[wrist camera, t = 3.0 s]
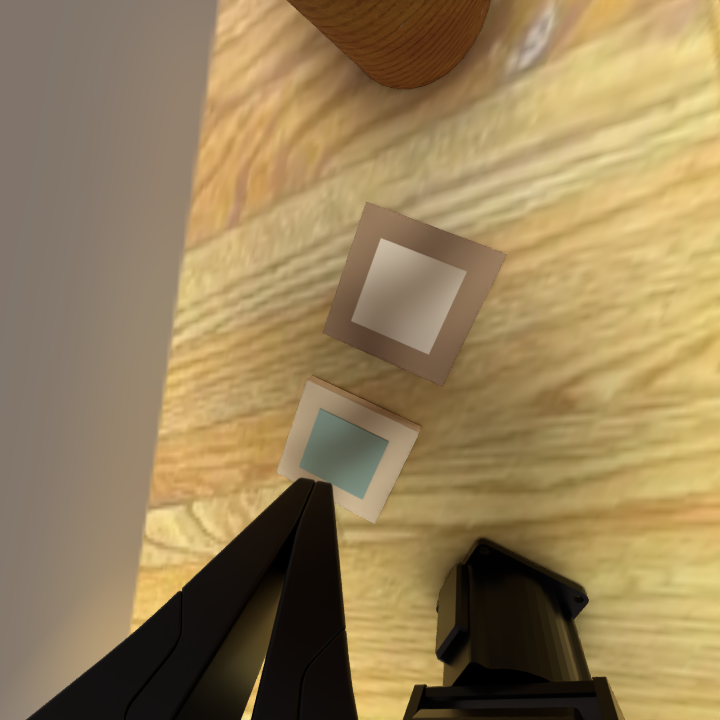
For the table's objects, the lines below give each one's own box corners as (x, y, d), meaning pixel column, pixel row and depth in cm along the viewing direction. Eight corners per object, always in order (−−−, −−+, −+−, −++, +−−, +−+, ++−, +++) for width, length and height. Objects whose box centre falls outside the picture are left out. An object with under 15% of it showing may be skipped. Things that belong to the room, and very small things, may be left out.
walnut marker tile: (505, 254, 17) (507, 254, 16) (443, 381, 19) (441, 386, 18) (370, 204, 18) (365, 201, 17) (327, 330, 20) (322, 333, 20)
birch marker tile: (421, 426, 20) (419, 433, 20) (377, 515, 23) (374, 525, 22) (312, 375, 21) (306, 380, 21) (282, 465, 24) (275, 473, 23)
